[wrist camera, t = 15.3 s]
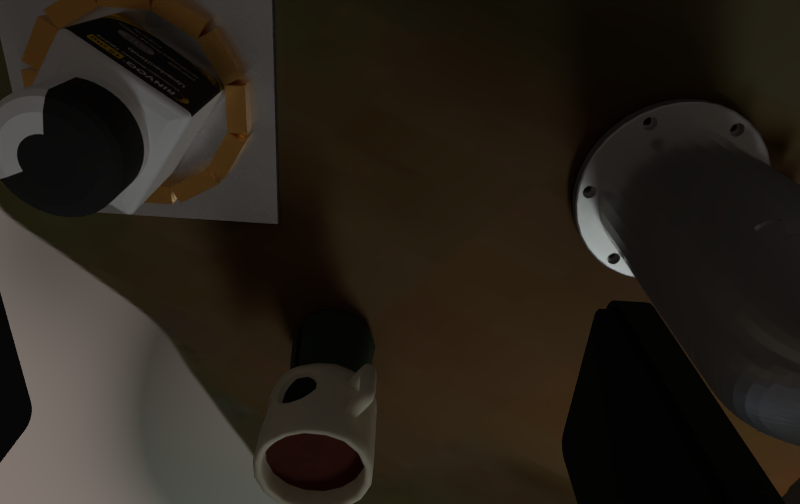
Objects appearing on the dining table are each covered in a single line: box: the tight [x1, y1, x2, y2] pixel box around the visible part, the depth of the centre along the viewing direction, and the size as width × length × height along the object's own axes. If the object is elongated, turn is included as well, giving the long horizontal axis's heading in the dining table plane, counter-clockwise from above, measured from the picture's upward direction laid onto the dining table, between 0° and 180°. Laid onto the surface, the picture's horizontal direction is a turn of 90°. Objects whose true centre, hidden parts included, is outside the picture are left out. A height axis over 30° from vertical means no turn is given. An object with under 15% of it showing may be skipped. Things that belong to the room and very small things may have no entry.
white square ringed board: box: [0, 0, 280, 224], centre depth 37 cm, size 16×16×2 cm
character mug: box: [253, 311, 377, 504], centre depth 41 cm, size 11×7×13 cm, turn 141°
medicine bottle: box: [0, 13, 224, 217], centre depth 32 cm, size 7×7×12 cm
